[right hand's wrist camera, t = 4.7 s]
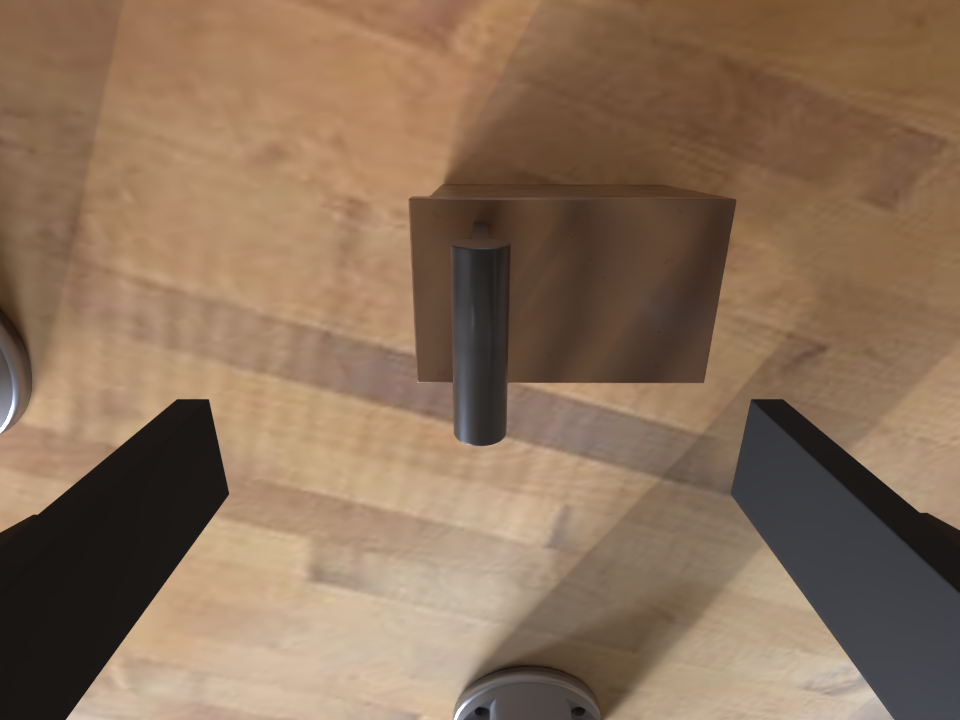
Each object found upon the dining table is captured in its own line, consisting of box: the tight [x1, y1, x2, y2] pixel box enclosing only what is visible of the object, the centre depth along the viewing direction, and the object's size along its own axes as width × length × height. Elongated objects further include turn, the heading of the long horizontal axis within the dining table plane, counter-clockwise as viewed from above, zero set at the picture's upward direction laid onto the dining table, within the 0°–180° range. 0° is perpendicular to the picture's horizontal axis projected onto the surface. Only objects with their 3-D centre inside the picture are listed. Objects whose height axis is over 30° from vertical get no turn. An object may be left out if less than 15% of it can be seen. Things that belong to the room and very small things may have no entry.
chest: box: [430, 184, 722, 197], centre depth 33 cm, size 15×10×9 cm, turn 90°
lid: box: [409, 197, 736, 446], centre depth 24 cm, size 16×10×9 cm, turn 90°
